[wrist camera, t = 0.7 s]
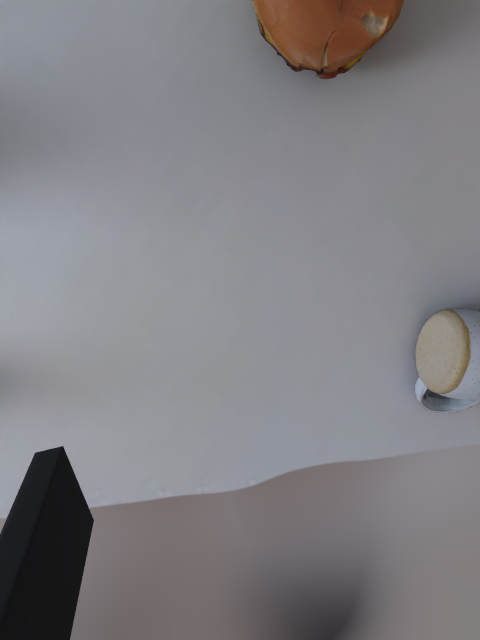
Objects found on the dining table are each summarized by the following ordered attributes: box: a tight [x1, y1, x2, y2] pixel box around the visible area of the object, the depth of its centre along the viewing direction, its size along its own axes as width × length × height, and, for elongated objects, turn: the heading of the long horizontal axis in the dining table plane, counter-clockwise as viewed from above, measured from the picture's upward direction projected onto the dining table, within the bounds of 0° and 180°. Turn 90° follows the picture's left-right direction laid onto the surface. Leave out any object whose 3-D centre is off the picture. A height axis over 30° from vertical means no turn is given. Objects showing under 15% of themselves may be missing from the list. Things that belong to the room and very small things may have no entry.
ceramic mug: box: [415, 308, 480, 413], centre depth 38 cm, size 11×8×8 cm
